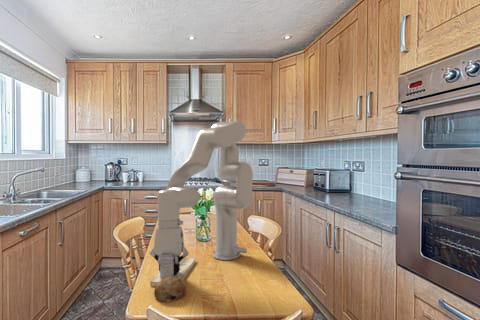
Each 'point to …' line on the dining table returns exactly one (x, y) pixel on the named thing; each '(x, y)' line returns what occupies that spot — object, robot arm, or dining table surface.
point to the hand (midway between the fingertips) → (169, 272)
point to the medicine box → (166, 265)
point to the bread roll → (170, 289)
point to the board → (184, 269)
